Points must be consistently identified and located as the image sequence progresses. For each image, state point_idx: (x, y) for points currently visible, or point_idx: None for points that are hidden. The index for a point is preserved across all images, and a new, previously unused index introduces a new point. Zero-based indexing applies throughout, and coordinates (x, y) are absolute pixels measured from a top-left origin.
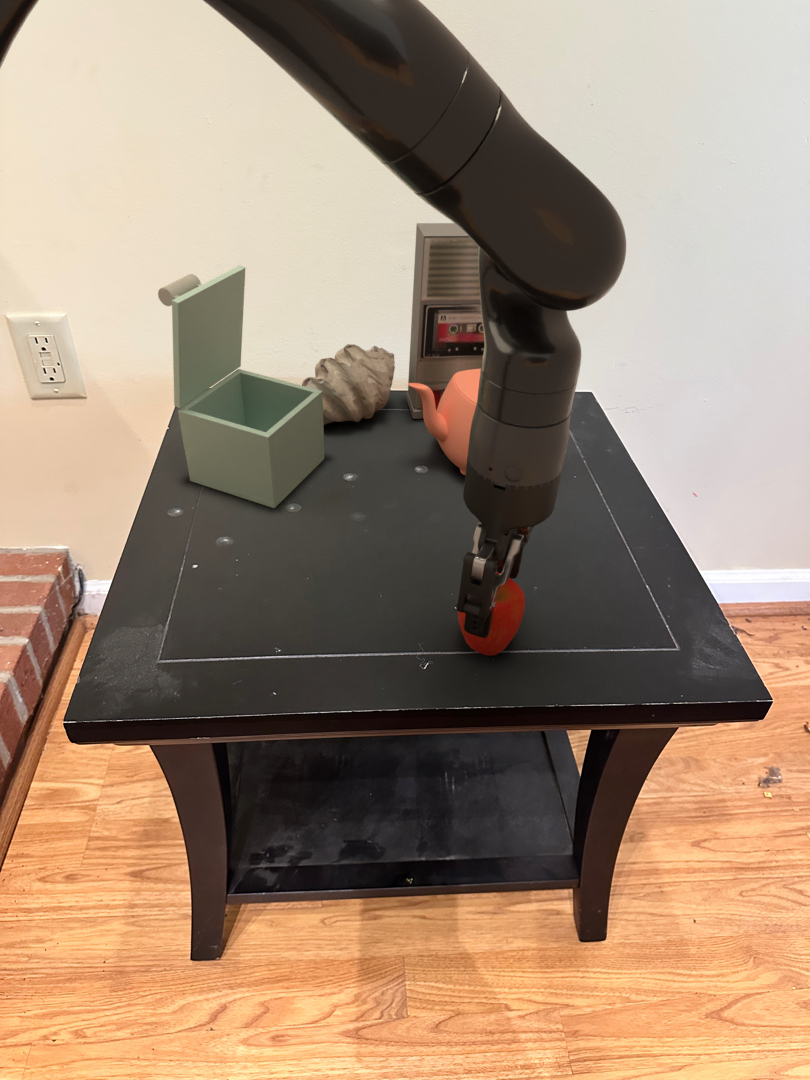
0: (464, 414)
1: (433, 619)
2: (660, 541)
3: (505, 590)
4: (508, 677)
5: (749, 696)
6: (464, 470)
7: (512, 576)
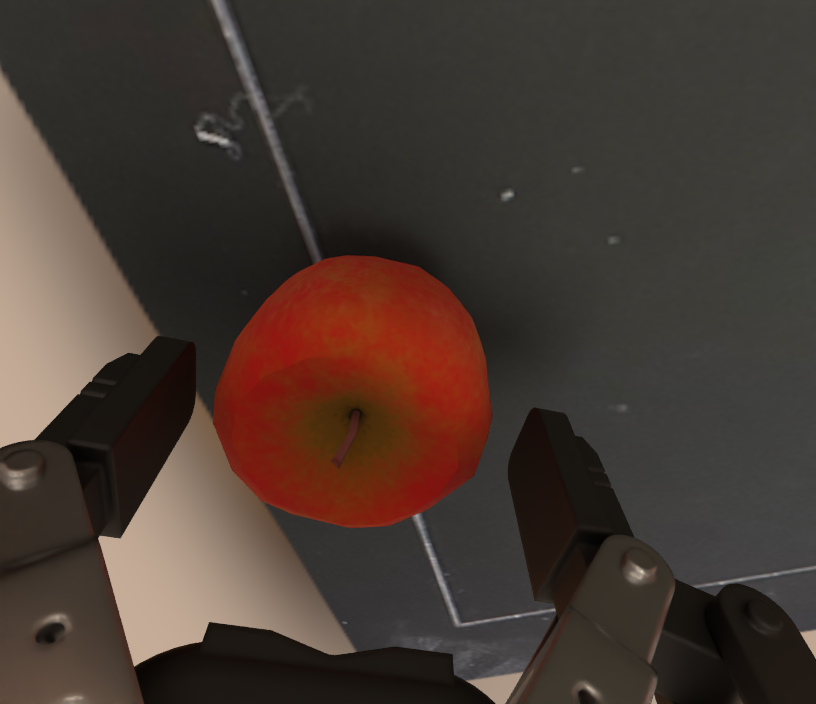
0: None
1: (434, 124)
2: None
3: (379, 477)
4: None
5: None
6: None
7: (511, 463)
